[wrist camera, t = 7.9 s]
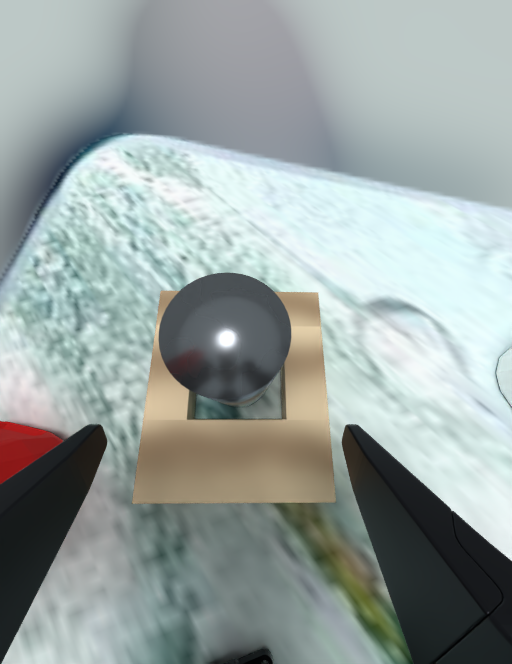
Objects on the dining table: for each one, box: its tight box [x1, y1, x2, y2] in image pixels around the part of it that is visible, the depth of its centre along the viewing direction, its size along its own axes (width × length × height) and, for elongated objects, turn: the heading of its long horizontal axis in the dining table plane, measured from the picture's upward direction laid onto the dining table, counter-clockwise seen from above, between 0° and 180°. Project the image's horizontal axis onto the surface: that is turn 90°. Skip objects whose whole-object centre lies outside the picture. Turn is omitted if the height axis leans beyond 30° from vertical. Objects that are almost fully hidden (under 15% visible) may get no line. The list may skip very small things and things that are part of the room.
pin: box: [159, 273, 291, 407], centre depth 15 cm, size 5×5×12 cm
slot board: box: [132, 291, 336, 504], centre depth 19 cm, size 15×13×2 cm
